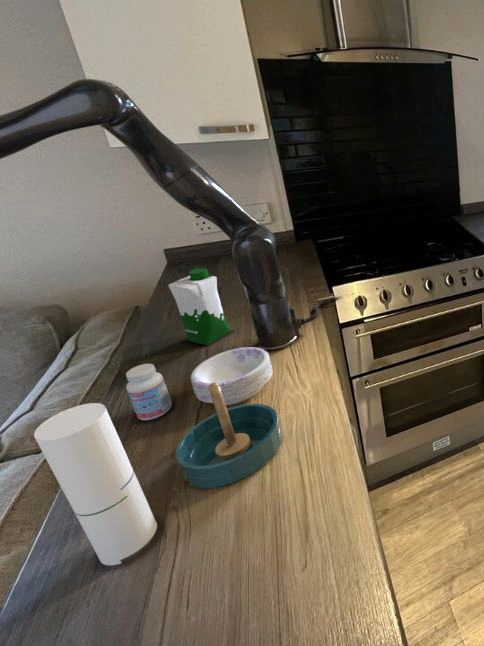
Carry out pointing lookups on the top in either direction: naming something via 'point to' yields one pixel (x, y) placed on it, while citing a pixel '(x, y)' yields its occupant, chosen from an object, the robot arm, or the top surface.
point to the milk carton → (200, 306)
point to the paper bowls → (233, 374)
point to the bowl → (205, 436)
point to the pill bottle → (147, 392)
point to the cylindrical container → (97, 480)
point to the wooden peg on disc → (227, 429)
